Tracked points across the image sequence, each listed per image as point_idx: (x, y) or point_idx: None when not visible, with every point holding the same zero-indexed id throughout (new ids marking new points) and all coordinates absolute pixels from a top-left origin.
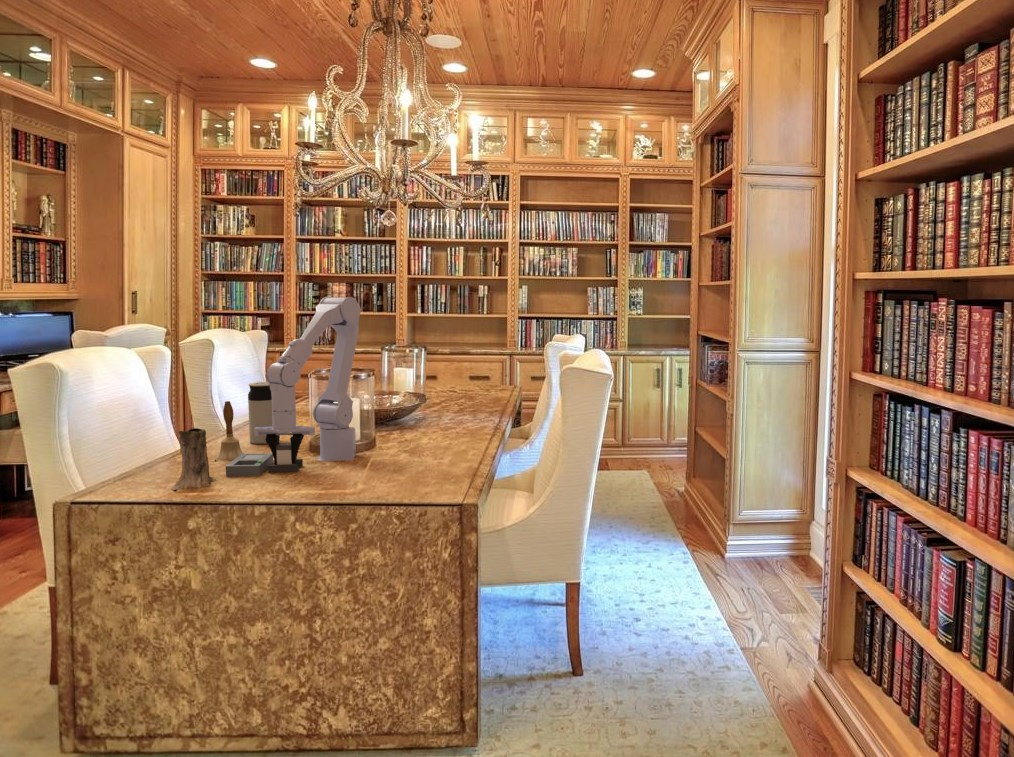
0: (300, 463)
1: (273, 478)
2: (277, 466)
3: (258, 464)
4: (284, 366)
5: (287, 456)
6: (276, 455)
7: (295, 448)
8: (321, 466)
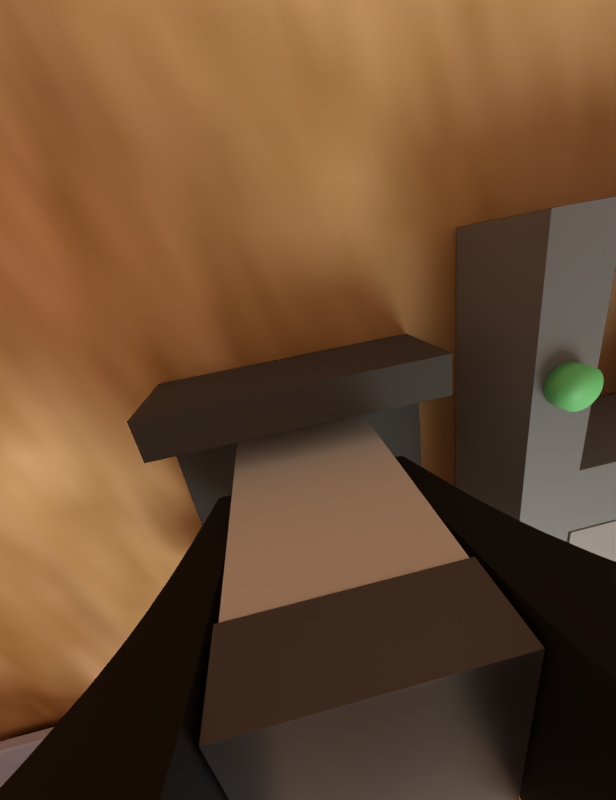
0: None
1: (321, 219)
2: (349, 372)
3: (568, 282)
4: None
5: (275, 521)
6: (430, 504)
7: (113, 681)
8: (113, 629)
